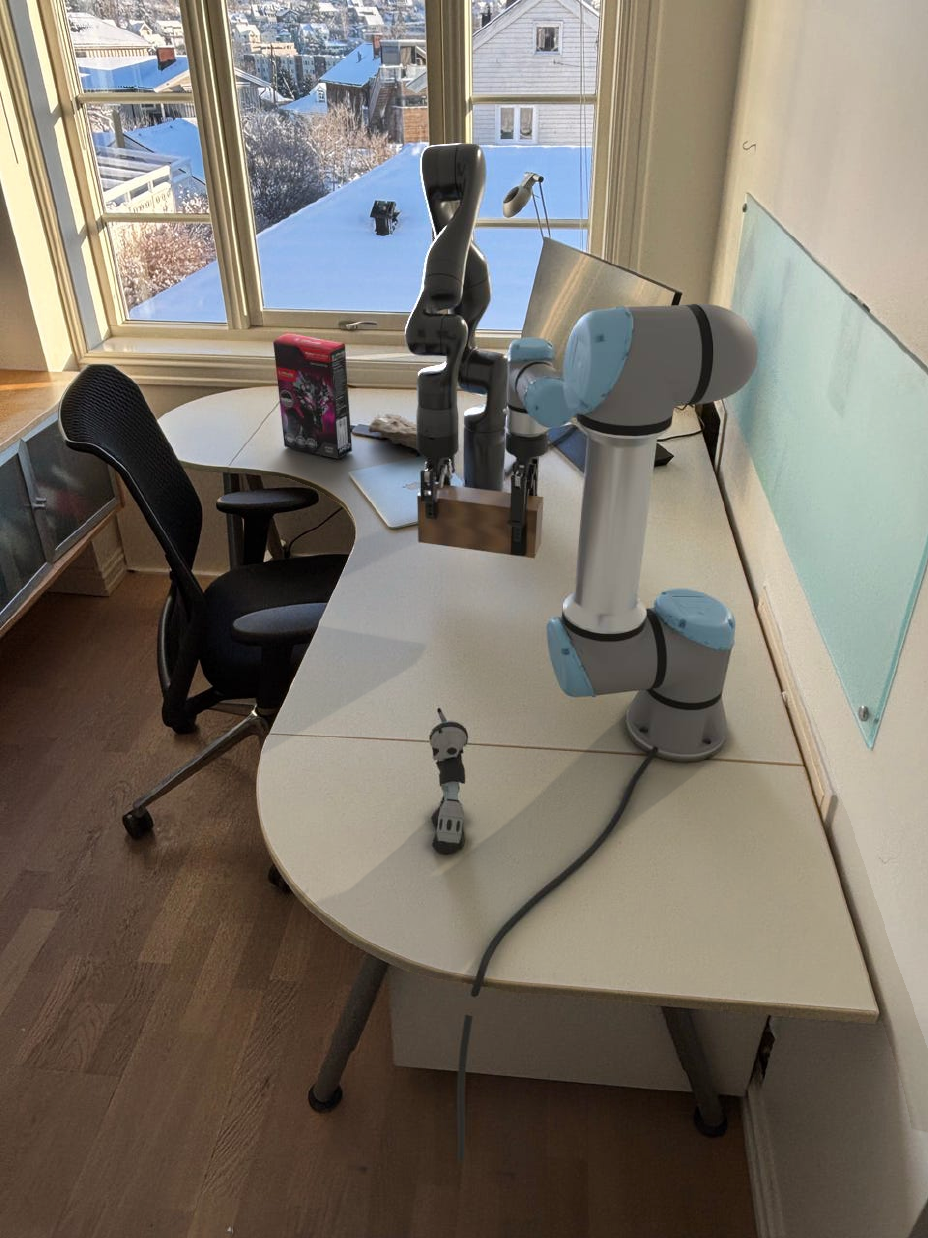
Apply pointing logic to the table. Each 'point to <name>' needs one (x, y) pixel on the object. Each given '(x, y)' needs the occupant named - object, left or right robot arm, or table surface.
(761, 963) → the table surface
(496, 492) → the box
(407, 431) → the stone
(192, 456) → the table surface
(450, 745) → the robot
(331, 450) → the graphics card box
